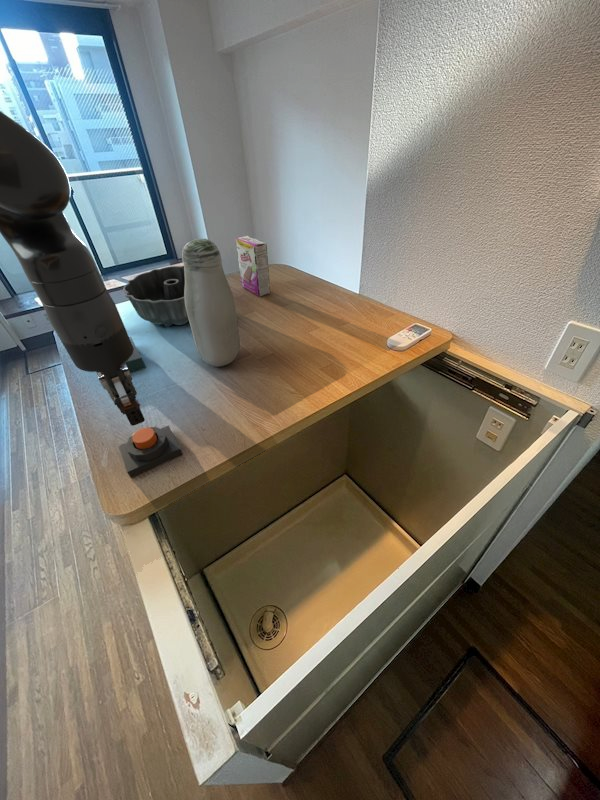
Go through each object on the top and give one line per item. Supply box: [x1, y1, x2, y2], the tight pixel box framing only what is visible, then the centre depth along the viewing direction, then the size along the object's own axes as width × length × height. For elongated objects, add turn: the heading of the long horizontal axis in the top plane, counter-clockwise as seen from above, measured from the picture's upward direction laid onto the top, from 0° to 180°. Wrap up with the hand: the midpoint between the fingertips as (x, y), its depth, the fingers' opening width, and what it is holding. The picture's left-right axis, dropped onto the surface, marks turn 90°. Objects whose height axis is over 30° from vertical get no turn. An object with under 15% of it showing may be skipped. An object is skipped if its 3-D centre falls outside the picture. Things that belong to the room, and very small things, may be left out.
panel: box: [125, 336, 147, 374], centre depth 80 cm, size 12×10×3 cm
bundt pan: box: [122, 265, 189, 327], centre depth 98 cm, size 26×26×10 cm
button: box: [132, 427, 157, 449], centre depth 56 cm, size 4×4×2 cm
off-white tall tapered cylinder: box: [181, 238, 241, 368], centre depth 72 cm, size 10×10×28 cm
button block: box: [118, 425, 183, 479], centre depth 58 cm, size 9×7×4 cm
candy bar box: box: [235, 235, 271, 298], centre depth 108 cm, size 11×5×16 cm, turn 40°
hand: (137, 421), depth 54 cm, fingers closed
